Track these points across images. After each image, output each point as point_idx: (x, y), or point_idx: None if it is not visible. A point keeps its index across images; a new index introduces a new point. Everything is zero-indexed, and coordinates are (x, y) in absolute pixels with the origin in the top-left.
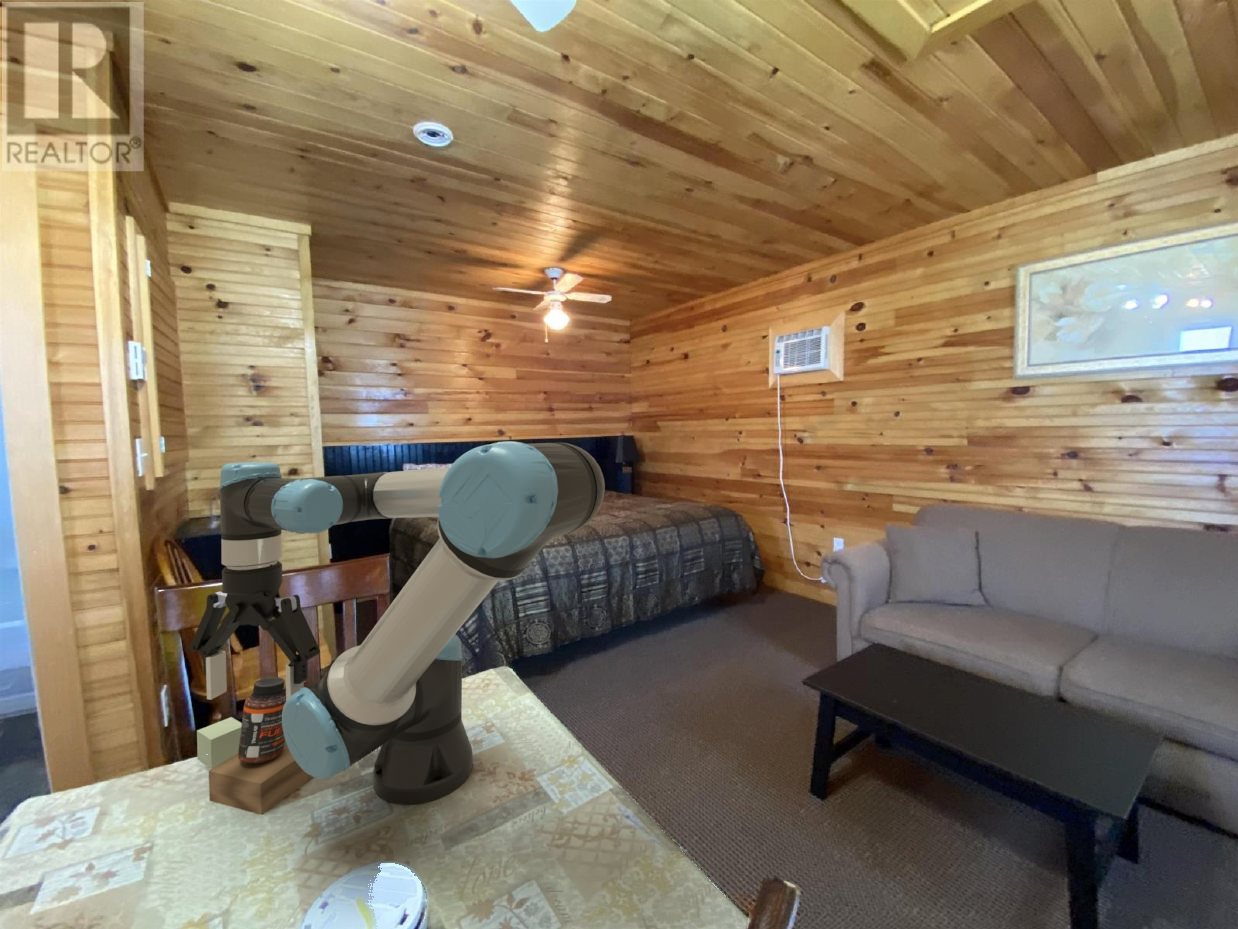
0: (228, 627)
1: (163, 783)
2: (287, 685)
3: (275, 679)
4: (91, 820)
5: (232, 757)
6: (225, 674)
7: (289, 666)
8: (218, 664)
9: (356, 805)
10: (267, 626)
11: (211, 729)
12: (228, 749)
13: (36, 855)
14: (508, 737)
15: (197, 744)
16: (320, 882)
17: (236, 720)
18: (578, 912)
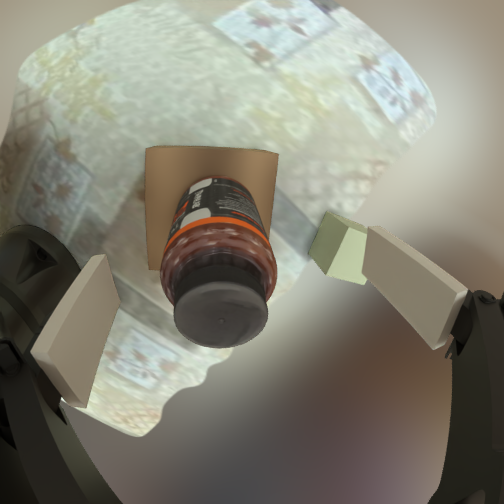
0: (490, 452)
1: (362, 171)
2: (73, 293)
3: (217, 335)
4: (378, 98)
5: (270, 196)
6: (389, 298)
7: (12, 339)
8: (422, 302)
9: (54, 207)
10: None
11: None
12: (325, 239)
13: (374, 48)
14: None
15: None
16: (15, 102)
17: (350, 281)
18: None
